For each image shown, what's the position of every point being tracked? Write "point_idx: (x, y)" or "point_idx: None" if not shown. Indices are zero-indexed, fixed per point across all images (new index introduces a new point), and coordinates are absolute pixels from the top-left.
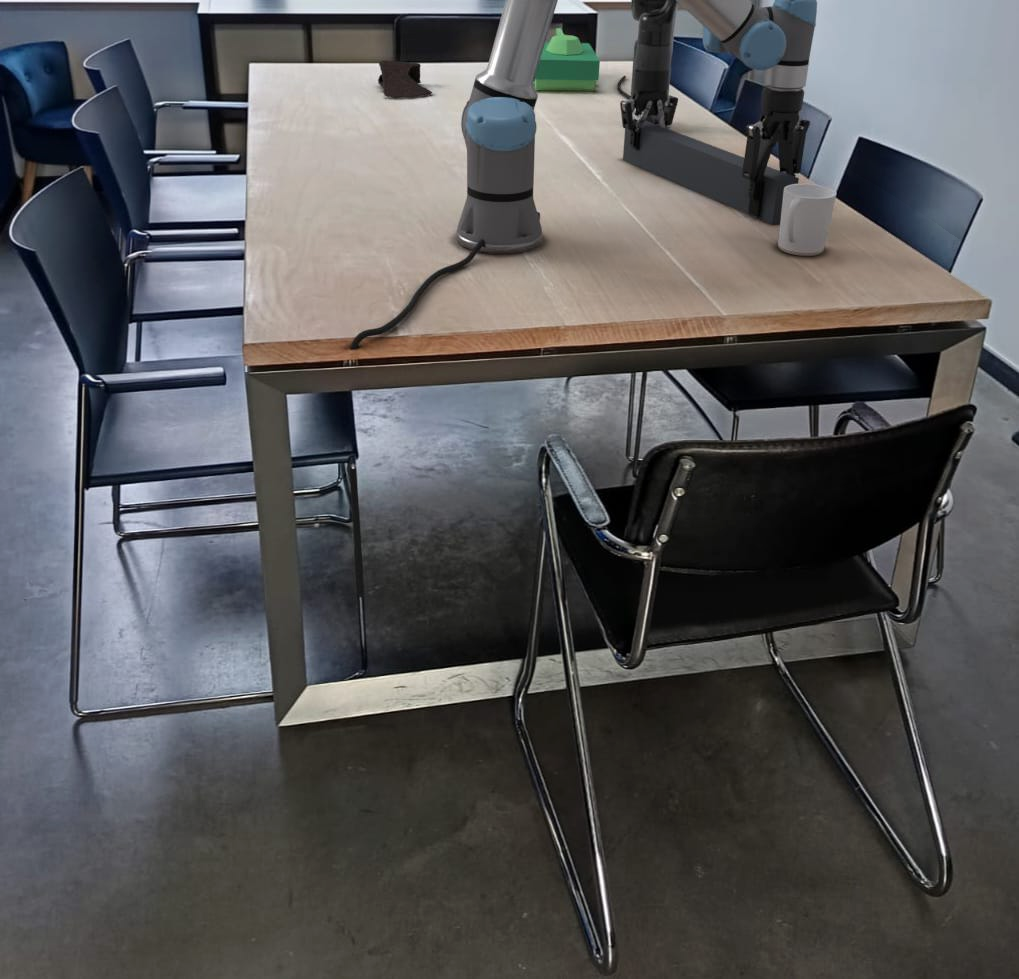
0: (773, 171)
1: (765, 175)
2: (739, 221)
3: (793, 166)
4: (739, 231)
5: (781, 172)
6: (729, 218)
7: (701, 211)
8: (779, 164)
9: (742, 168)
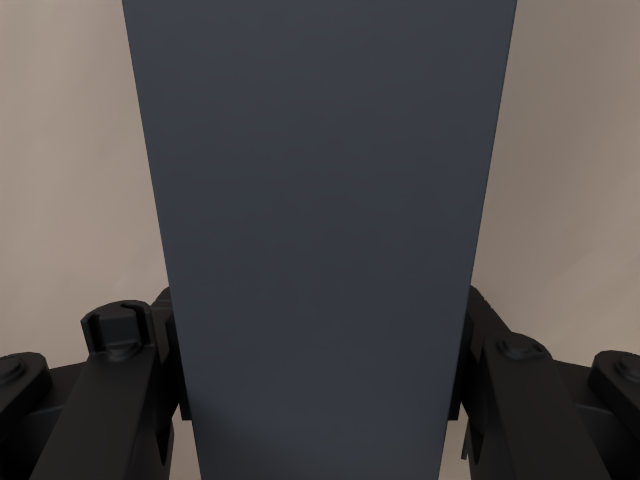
0: (378, 389)
1: (212, 449)
2: (151, 265)
3: (620, 448)
4: (83, 359)
5: (422, 437)
6: (126, 210)
7: (24, 37)
8: (497, 415)
9: (145, 120)
